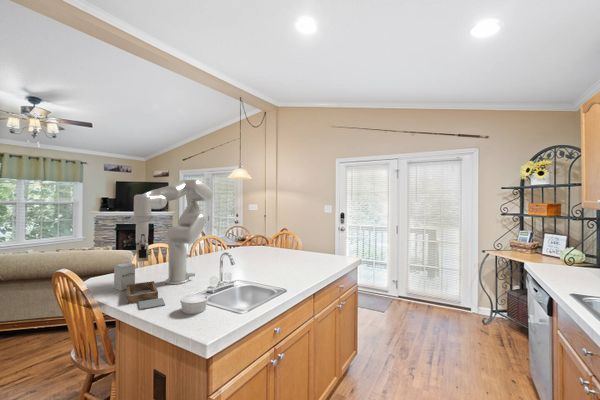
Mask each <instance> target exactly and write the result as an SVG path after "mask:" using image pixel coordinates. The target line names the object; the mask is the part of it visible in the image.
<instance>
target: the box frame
mask: <svg viewBox="0 0 600 400" xmlns="http://www.w3.org/2000/svg"><path fill="white" fill-rule="evenodd" d="M143 290H144V291H145V290H151V291H148V292H142V293H137V294H132V293H131V292H138V291H143ZM157 298H159V291H158V288H157V285H156V284H155V281H153V280H151V281H143V282H135V284H129V285H127V289H126V299H127V301H128V302H127V305H129V304H130V303H131V304H136V303H137V304H138V302H139V301H145V300H151V299H157ZM131 304H130V305H131Z"/></svg>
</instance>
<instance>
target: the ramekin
mask: <svg viewBox="0 0 600 400" xmlns="http://www.w3.org/2000/svg"><path fill="white" fill-rule="evenodd" d="M208 300H209V296H208V295H206V294H203V293H194V294H188V295H185V296H183V297H181V298H180V301H179V302H180V305H181V310H182V312H183V313H184V314H186V315H197V314H201V313H203V312H204V311H205V310H206V309H207V305H208Z"/></svg>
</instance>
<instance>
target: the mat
mask: <svg viewBox="0 0 600 400" xmlns="http://www.w3.org/2000/svg"><path fill="white" fill-rule="evenodd" d="M137 304H138V308H139V311H143V310H147V309H148V310H149V309H154V308H160V307H164V306H165V307H166V302H165V301H164V298H163V297H158V298H157V299H151V300H145V301H139V302H137Z"/></svg>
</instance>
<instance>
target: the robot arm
mask: <svg viewBox="0 0 600 400" xmlns="http://www.w3.org/2000/svg"><path fill="white" fill-rule="evenodd" d="M213 195H214V194H213V191H212V189H211V188H210V187H209V186H208V185H206V184H205V183H203V182H202V181H201V180H199V179H195V178H194V179H189V178H188V179H182V180H179V181H177V182H175V183H173V184H172V183H171V184H170V185H167V186H163V187H160V188H156V189H151V190H149V191H146V192H144V193H142V194H135V195H134V196H133V224H135V244H139V258H146V243H148V241H149V240H148V239H149V224H150V223H152V210H160V209H161V210H162V209H164V208H165V207H167V206H166V205H167V203H168V202H172V201H175V200H178V199H180V198H183V196H185V198H186V207H185V209H184V210H183V212H182V213H181V215H180V216H179V218H178V221H177V225H178V226H177V225H176V226H172V227H171V226H170V228H169V229H167V231H166V240H167V246H168V278H167V279H165V284H167V285H180V284H181V285H182V284H185V283H188V282H189V281H190V277H191V278H192V277H193V278H194V277H195V276H196V274H195V272H189V273H188V272H187V247H186V246H185V245H186V244H187V245H191V244H194V243H196V241H198V238H199V237H200V235H201V233H202V232H203V231H204V228H205V226H206V220H207V219H206V216H205V215H204V214H203V213H201V208H200V205H199V203H198V202H209V201H211V200H212V198H213Z"/></svg>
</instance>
